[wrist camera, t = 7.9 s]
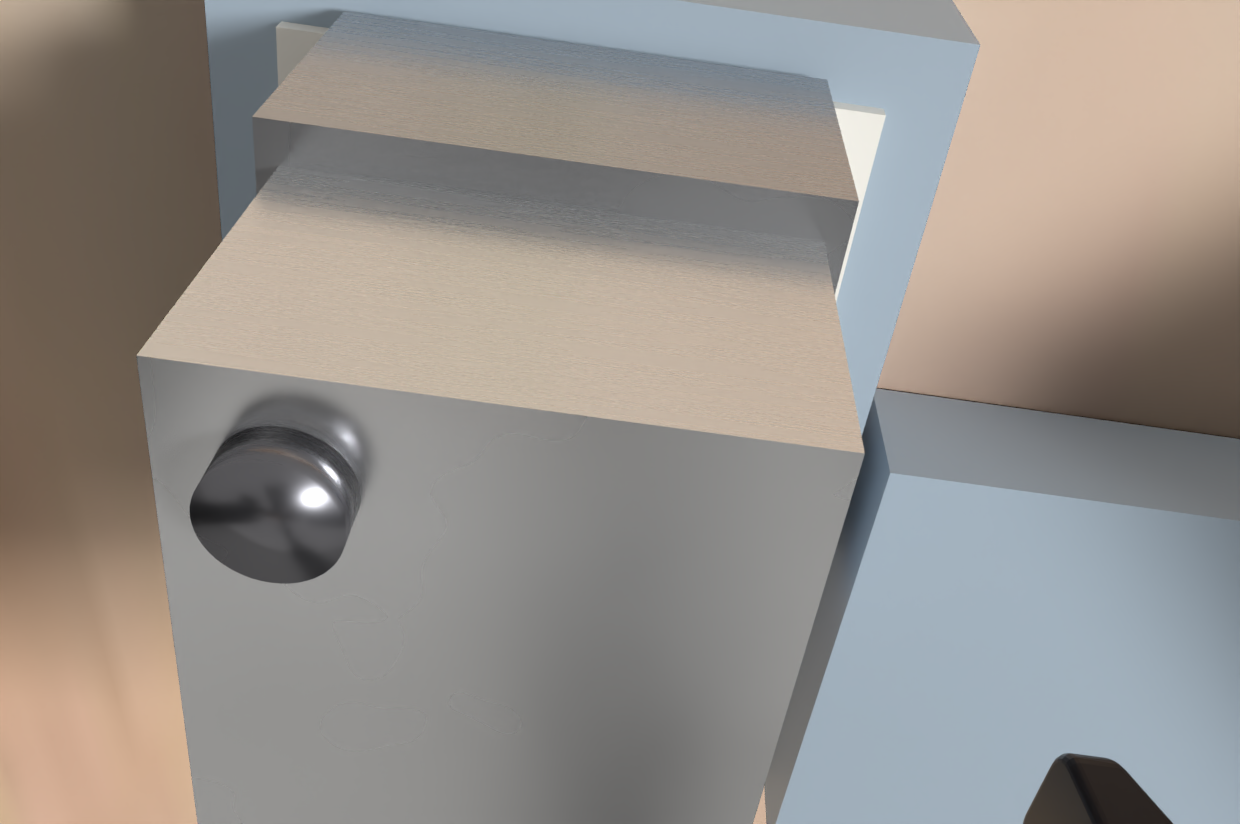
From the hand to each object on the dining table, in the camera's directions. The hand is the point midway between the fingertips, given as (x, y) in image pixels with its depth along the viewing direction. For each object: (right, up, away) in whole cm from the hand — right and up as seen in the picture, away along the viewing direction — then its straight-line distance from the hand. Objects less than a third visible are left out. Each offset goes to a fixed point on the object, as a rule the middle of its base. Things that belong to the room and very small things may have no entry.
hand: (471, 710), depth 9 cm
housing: (0, +3, +5) cm, 6 cm away
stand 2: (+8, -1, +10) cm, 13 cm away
